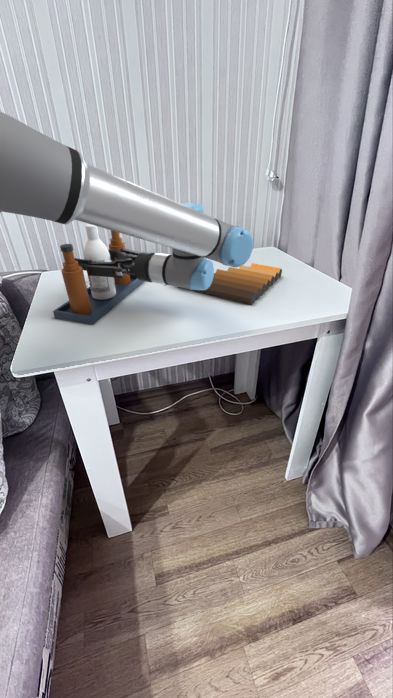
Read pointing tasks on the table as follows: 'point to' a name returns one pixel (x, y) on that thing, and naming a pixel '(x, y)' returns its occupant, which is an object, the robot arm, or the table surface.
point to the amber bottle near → (75, 282)
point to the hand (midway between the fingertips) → (84, 257)
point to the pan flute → (243, 282)
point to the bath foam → (98, 253)
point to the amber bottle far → (115, 245)
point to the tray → (97, 304)
